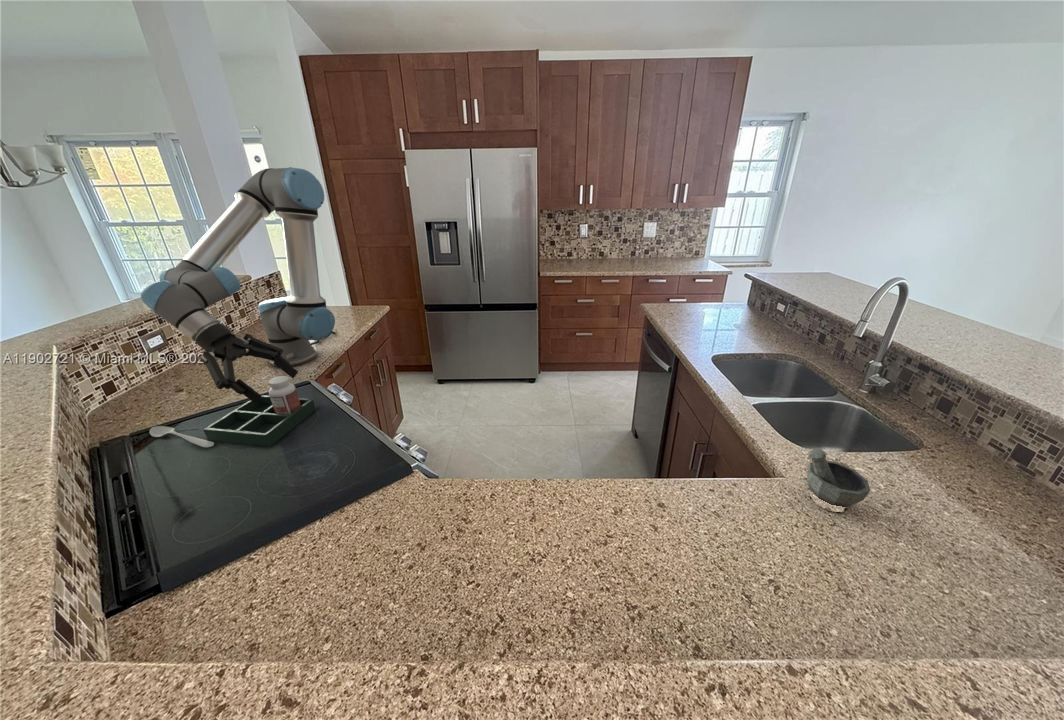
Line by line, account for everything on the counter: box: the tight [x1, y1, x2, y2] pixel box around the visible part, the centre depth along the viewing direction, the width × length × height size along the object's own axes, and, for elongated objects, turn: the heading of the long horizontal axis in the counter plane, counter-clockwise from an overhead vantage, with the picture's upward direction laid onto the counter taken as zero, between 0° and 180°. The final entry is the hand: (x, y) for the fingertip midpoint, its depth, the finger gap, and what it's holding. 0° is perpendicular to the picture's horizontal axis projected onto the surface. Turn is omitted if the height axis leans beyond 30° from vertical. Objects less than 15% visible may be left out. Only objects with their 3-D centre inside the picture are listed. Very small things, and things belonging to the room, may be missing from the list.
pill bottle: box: [268, 375, 301, 415], centre depth 101 cm, size 6×6×11 cm
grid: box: [202, 394, 317, 448], centre depth 100 cm, size 17×17×4 cm
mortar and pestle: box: [806, 448, 871, 508], centre depth 74 cm, size 11×9×12 cm
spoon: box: [149, 425, 215, 449], centre depth 94 cm, size 4×21×2 cm, turn 74°
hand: (278, 386), depth 100 cm, fingers open, 13 cm apart
